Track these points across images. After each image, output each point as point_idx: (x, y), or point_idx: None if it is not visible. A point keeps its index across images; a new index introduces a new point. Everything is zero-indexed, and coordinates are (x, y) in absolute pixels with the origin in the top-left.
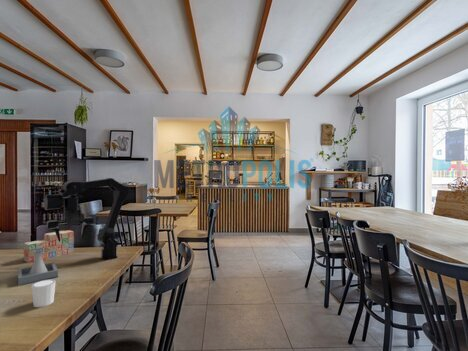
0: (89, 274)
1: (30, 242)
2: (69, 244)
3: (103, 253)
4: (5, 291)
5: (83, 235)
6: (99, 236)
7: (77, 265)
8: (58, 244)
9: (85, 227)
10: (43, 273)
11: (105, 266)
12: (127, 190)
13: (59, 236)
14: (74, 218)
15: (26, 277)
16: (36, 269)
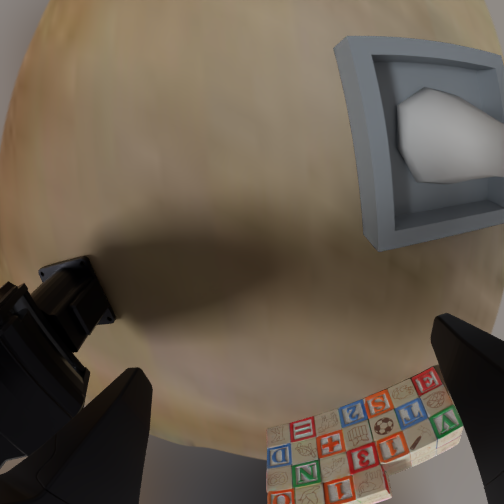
0: (150, 19)
1: (442, 449)
2: (285, 459)
3: (79, 294)
4: (494, 33)
5: (99, 396)
6: (37, 389)
7: (231, 231)
8: (335, 456)
9: (6, 487)
10: (420, 39)
11: (69, 134)
12: None
13: (495, 358)
14: None
15: (477, 51)
16: (467, 103)
